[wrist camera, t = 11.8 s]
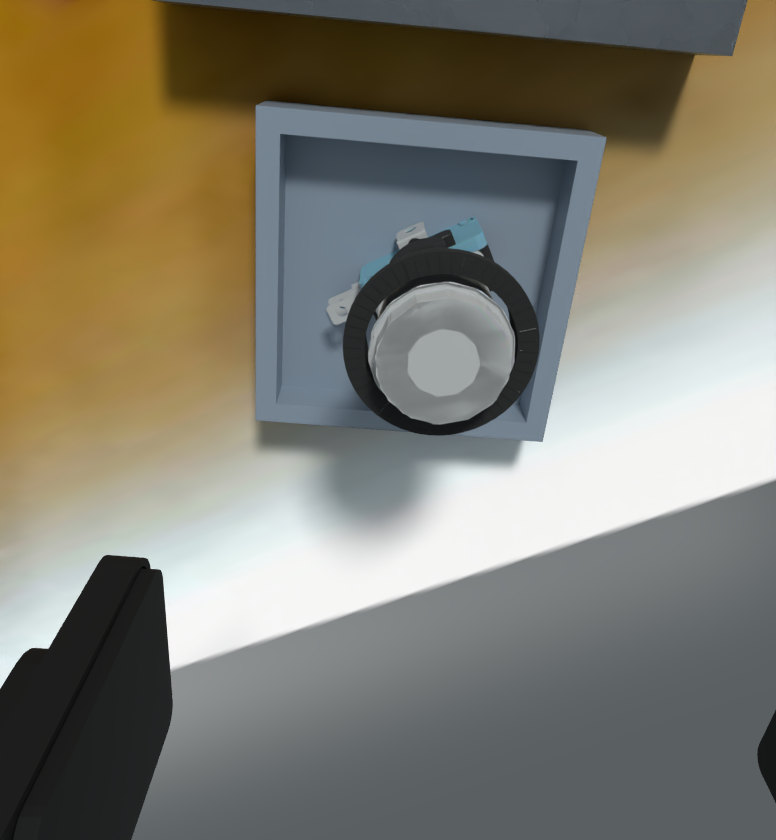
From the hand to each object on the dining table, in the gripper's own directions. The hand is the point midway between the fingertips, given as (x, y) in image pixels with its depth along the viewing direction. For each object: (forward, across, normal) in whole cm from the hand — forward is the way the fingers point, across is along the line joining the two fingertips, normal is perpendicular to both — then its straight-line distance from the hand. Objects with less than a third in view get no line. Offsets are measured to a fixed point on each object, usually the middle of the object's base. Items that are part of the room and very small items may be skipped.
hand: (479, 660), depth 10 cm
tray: (+20, +1, 0) cm, 20 cm away
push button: (+20, +1, 0) cm, 20 cm away
